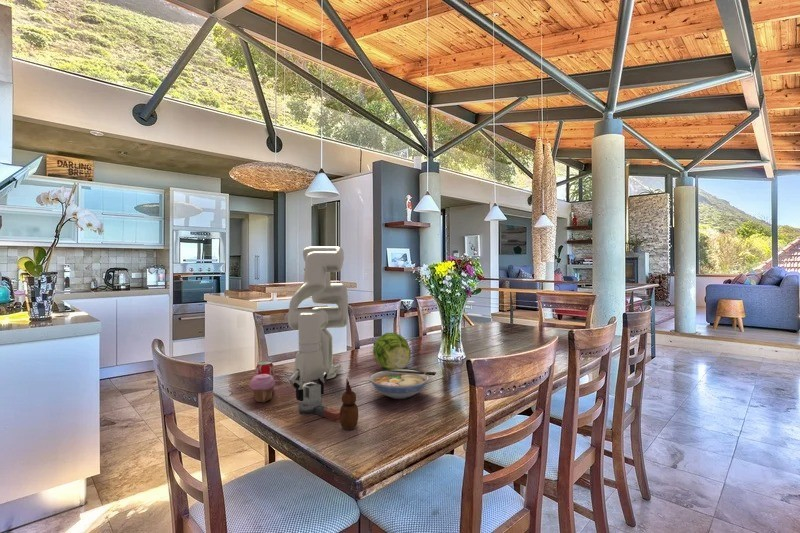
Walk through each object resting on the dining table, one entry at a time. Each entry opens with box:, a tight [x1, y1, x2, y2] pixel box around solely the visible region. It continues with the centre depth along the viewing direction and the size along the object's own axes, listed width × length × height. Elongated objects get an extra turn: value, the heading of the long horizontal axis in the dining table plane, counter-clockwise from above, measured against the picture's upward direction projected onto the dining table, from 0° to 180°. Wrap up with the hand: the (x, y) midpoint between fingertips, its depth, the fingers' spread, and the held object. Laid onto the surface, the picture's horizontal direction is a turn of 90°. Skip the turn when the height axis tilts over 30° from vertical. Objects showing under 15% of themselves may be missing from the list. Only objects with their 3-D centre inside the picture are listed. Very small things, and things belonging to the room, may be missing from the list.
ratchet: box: [298, 399, 340, 422], centre depth 141 cm, size 8×19×8 cm, turn 50°
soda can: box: [255, 360, 275, 392], centre depth 164 cm, size 7×7×12 cm
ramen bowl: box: [369, 368, 437, 400], centre depth 158 cm, size 25×23×8 cm
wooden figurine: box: [339, 378, 359, 431], centre depth 129 cm, size 7×6×15 cm
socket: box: [300, 381, 322, 405], centre depth 144 cm, size 5×5×6 cm
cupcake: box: [249, 374, 276, 403], centre depth 154 cm, size 9×9×10 cm
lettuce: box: [373, 332, 412, 370], centre depth 197 cm, size 17×23×17 cm
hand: (310, 396), depth 144 cm, fingers open, 8 cm apart
